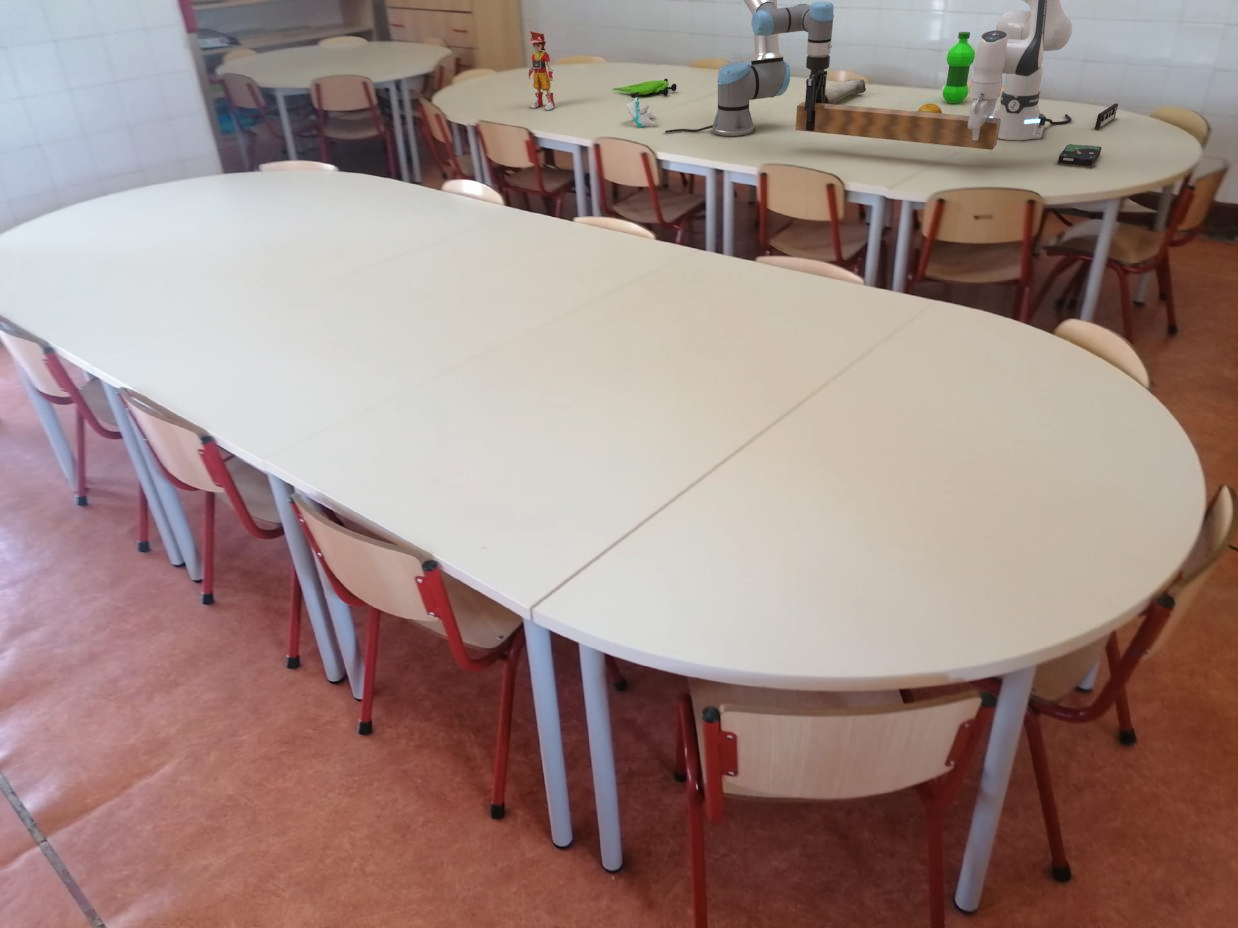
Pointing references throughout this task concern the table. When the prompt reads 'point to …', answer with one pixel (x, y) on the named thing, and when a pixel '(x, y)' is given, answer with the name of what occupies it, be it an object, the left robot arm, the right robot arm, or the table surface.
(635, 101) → the anatomical model
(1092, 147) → the disk drive
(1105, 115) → the midi keyboard
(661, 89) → the toy
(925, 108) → the fruit
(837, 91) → the rolled mat
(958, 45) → the plastic bottle
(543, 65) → the toy
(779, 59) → the left robot arm
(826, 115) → the bar
